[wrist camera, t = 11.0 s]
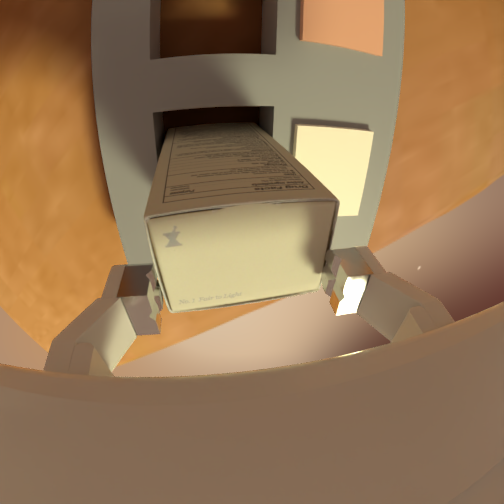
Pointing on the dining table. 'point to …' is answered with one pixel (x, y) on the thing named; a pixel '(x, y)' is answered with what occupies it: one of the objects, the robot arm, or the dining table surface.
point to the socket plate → (255, 99)
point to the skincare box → (235, 219)
